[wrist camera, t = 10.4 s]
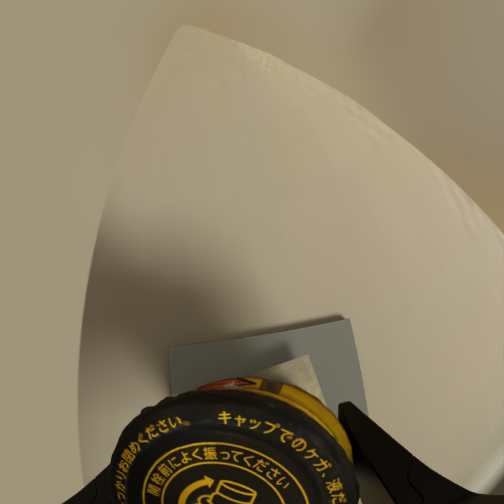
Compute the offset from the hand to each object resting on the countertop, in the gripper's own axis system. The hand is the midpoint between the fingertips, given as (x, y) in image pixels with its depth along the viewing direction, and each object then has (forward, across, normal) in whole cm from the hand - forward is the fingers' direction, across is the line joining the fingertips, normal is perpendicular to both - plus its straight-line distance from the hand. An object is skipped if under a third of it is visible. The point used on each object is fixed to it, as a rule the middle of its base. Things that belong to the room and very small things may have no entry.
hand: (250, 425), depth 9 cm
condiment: (+4, +1, +6) cm, 7 cm away
